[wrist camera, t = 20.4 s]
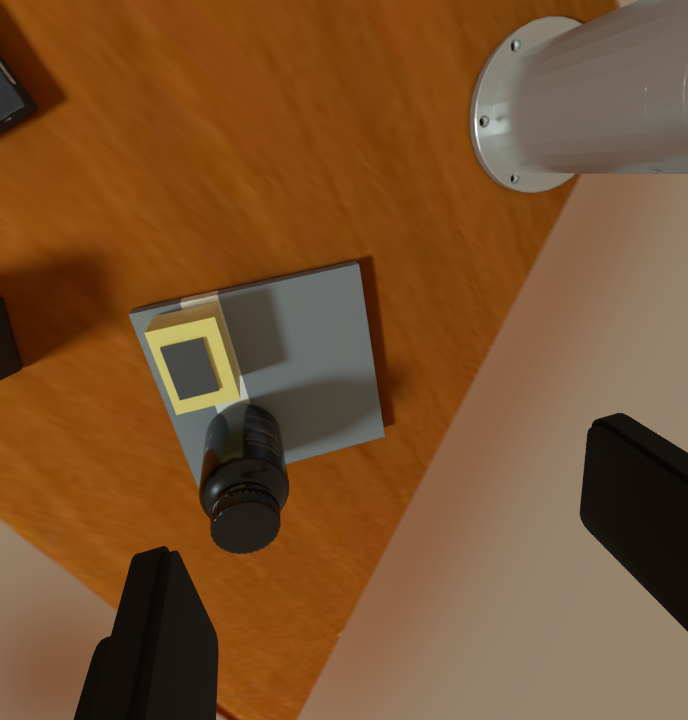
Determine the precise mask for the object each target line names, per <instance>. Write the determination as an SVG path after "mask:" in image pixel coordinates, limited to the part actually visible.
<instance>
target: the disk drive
mask: <svg viewBox="0 0 688 720" xmlns="http://www.w3.org/2000/svg"><path fill="white" fill-rule="evenodd" d="M37 110H38V107H37V106H36V104H35V103H34V102H33V100H32V99H31V98H30V96H29V95H28V93H27V92H26V91H25V90H24V88H23V86H22V85H21V84H20V83H19V81H18V80H17V78H16V77H15V75H14V74H13V72H12V71H11V70H10V68H9V67H8V65H7V64H6V63H5V62H4V60H3V59H2V57H1V56H0V131H2V130H6V129H7V128H9V127H11V126H13V125H15V124H16V123H18V122H20V121H22V119H23V118H25V117H27V116H29V115H31V113H34V112H36V111H37Z"/></svg>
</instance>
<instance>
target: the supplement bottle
mask: <svg viewBox="0 0 688 720" xmlns="http://www.w3.org/2000/svg"><path fill="white" fill-rule="evenodd" d="M288 494H289V480H288V474H287V467H286V461H285V455H284V449H283V443H282V437H281V432H280V428H279V425H278V422H277V421H276V419H275V418H274V416H273V415H272V414H271V413H269V412H268V411H267V410H265V409H263V408H261V407H258V406H255V405H248V404H242V405H235V406H232V407H229V408H227V409H225V410H223V411H221V412H220V413H218V414H217V415H216V416H215V417H214V418H213V419H212V421H211V422H210V424H209V426H208V428H207V432H206V437H205V444H204V453H203V461H202V470H201V479H200V488H199V499H200V504H201V507H202V509H203V510H204V512H205V514H206V515H207V516H208V517H209V518H210V521H211V526H210V530H211V537H212V538H213V541H214V542H215V543H216V545H217V546H219V547H220V548H221V549H224V550H225V551H228V552H231V553H237V554H241V553H242V554H246V553H252V552H254V551H259V550H260V549H263V548H265V547H266V546H267V545H269V544H270V543H271V542H272V541H274V538H275V537H276V536H277V533H278V532H279V528H280V525H281V524H280V511H281V510H282V508H283V507H284V505H285V503H286V501H287V498H288Z"/></svg>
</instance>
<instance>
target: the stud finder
mask: <svg viewBox="0 0 688 720" xmlns="http://www.w3.org/2000/svg"><path fill="white" fill-rule="evenodd" d="M144 333H145V336H146V339H147V341H148V344H149V346H150V349H151V351H152V354H153V356H154V359H155V361H156V364H157V367H158V369H159V372H160V374H161V377H162V379H163V382H164V384H165V387H166V389H167V392H168V395H169V397H170V400H171V402H172V405H173V407H174V410H175V412H176V415H179V414H183V413H187V412H191V411H195V410H199V409H203V408H207V407H211V406H215V405H218V404H222V403H226V402H230V401H234V400H238V399H240V376H239V373H238V370H237V366H236V363H235V360H234V356H233V353H232V350H231V347H230V343H229V340H228V337H227V333H226V330H225V327H224V323H223V320H222V317H221V314H220V310H219V307H218V304H217V302H216V303H211V304H206V305H202V306H197V307H193V308H188V309H184V310H179V311H175V312H170V313H166V314H161V315H157V316H154V317H153V319H152V320H151V322H150V324H149V326H148V327H147V329H146V331H145V332H144Z"/></svg>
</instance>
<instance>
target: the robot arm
mask: <svg viewBox="0 0 688 720" xmlns="http://www.w3.org/2000/svg"><path fill="white" fill-rule="evenodd" d="M511 47H512V50H511ZM480 120H481V125H480V123H479V121H480ZM470 131H471V138H472V144H473V147H474V150H475V153H476V156H477V158H478V160H479V162H480V164H481V165H482V167H483V169H484V170H485V172H486V173H487V174H488V175H489V176H490V177H491V178H492V179H493V180H494V181H495V182H497V183H498V184H500V185H501V186H503V187H505V188H508V189H510V190H513V191H519V192H541V191H546V190H550V189H552V188H554V187H556V186H559V185H561V184H562V183H564V182H565V181H567V180H568V179H570V178H571V177H573V176H574V175H575V174H576V173H583V174H586V173H587V174H590V173H591V174H594V173H595V174H596V173H597V174H600V173H601V174H603V173H604V174H605V173H606V174H609V173H610V174H611V173H613V174H614V173H615V174H616V173H617V174H624V173H625V174H631V173H633V174H640V173H641V174H688V0H638V1H636V2H634V3H631V4H629V5H627V6H624V7H622V8H620V9H617V10H615V11H613V12H610V13H608V14H606V15H603V16H601V17H599V18H596V19H594V20H592V21H589V22H587V23H585V24H582V23H580V22H578V21H577V20H575V19H571V18H567V17H563V16H548V17H544V18H541V19H537V20H534V21H532V22H530V23H528V24H526V25H524V26H522V27H520V28H518V29H517V30H516V31H514V32H513V33H511V34H510V35H508V36H507V37H506V38H505V39H504V40H503V41H502V42H501V43H500V44H499V45H498V46H497V47H496V48H495V50H494V51H493V53H492V54H491V55H490V57H489V58H488V60H487V61H486V63H485V65H484V67H483V69H482V71H481V73H480V75H479V77H478V80H477V83H476V86H475V90H474V93H473V97H472V103H471V110H470ZM510 179H511V180H510ZM580 517H581V520H582V522H583V524H584V526H585V527H586V528H587V530H589V532H590V533H591V534H592V535H593V536H594V537H595V538H596V539H597V540H598V541H599V542H600V543H601V544H602V545H603V546H604V547H605V548H606V549H607V550H608V551H609V552H610V553H611V554H612V555H613V556H614V557H615V558H616V559H617V560H618V561H619V562H620V563H621V564H622V565H623V566H624V567H625V568H626V569H627V570H628V571H629V572H630V573H631V574H632V576H634V578H635V579H636V580H637V581H638V582H639V583H640V584H641V585H642V586H643V587H644V588H645V589H646V590H647V591H648V592H649V593H650V594H651V595H652V596H653V597H654V598H655V599H656V600H657V601H658V602H659V603H660V604H661V605H662V606H663V607H664V608H665V609H666V610H667V611H668V612H669V613H670V614H671V615H672V616H673V617H674V618H675V619H676V620H677V621H678V622H679V623H680V624H681V625H682V626H683V627H684V628H685V629H686V630H687V631H688V453H687V452H685V451H684V450H682V449H681V448H679V447H677V446H676V445H674V444H673V443H671V442H669V441H668V440H666V439H665V438H663V437H661V436H660V435H658V434H657V433H655V432H653V431H652V430H650V429H648V428H647V427H645V426H643V425H642V424H640V423H639V422H637V421H636V420H634V419H632V418H631V417H629V416H628V415H625V414H623V413H617V414H613V415H610V416H606V417H603V418H599V419H597V420H595V421H594V422H593V423H592V427H591V428H590V429H589V430H588V433H587V443H586V454H585V464H584V475H583V485H582V495H581V505H580ZM217 676H218V640H217V635H216V632H215V629H214V627H213V625H212V623H211V621H210V619H209V616H208V614H207V612H206V610H205V608H204V606H203V603H202V601H201V599H200V597H199V595H198V593H197V591H196V588H195V586H194V584H193V582H192V580H191V578H190V576H189V573H188V571H187V569H186V567H185V565H184V563H183V561H182V558H181V556H180V554H179V552H178V551H172V552H170V551H169V550H168V548H167V547H165V546H162V547H159V548H156V549H152V550H149V551H145V552H142V553H138V554H135V555H134V556H133V558H132V561H131V564H130V568H129V571H128V575H127V579H126V582H125V586H124V590H123V593H122V597H121V601H120V604H119V608H118V612H117V615H116V619H115V623H114V627H113V630H112V634H111V636H110V637H106V638H105V639H103V640H101V641H100V643H99V644H98V645H97V646H96V649H95V651H94V654H93V656H92V660H91V663H90V666H89V670H88V673H87V676H86V680H85V683H84V687H83V690H82V693H81V696H80V700H79V703H78V706H77V710H76V713H75V717H74V720H216V702H217Z"/></svg>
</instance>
